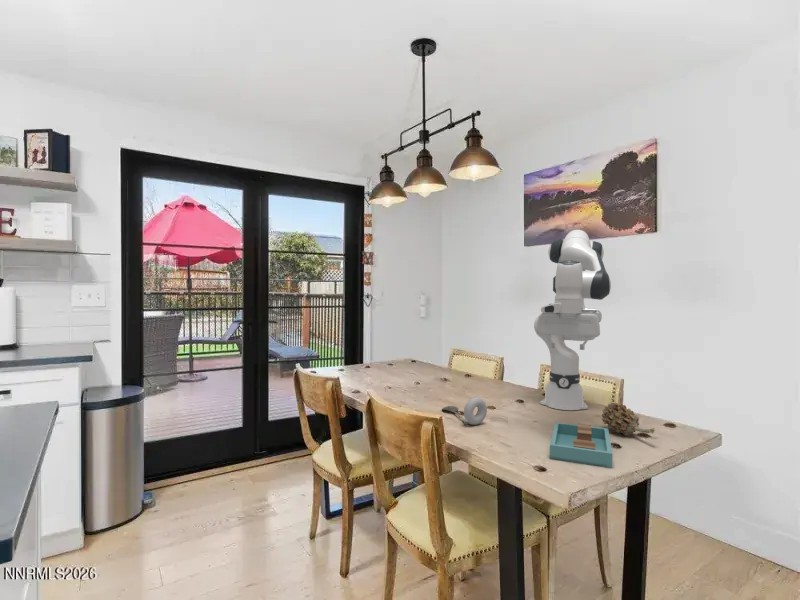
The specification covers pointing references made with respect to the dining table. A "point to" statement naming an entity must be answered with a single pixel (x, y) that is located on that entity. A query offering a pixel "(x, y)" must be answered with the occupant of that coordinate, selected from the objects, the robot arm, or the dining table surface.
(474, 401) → the donut
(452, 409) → the soupspoon
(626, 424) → the pine cone
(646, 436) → the dining table surface
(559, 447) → the serving bin
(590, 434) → the stepped brown block
